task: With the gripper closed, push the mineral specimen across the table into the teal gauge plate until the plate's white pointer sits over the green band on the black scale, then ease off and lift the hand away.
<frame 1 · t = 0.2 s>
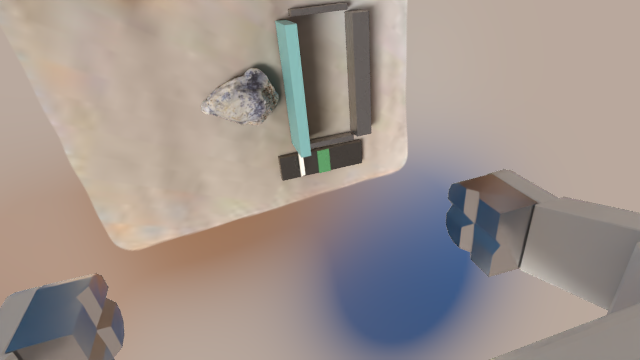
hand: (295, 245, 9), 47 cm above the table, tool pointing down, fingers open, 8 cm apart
gauge plate: (296, 108, 53), point 3 cm above the table, slide at 0.0 cm
gauge frame: (319, 80, 56), on the table
mineral specimen: (238, 92, 54), on the table
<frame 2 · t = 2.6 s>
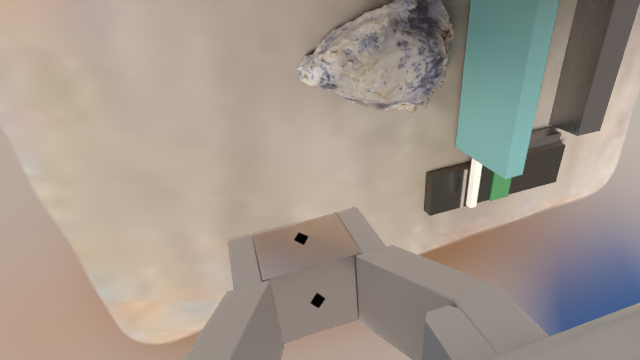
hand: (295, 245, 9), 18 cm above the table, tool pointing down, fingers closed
gauge plate: (498, 78, 26), point 3 cm above the table, slide at 0.0 cm
gauge frame: (526, 26, 29), on the table
mineral specimen: (369, 45, 26), on the table
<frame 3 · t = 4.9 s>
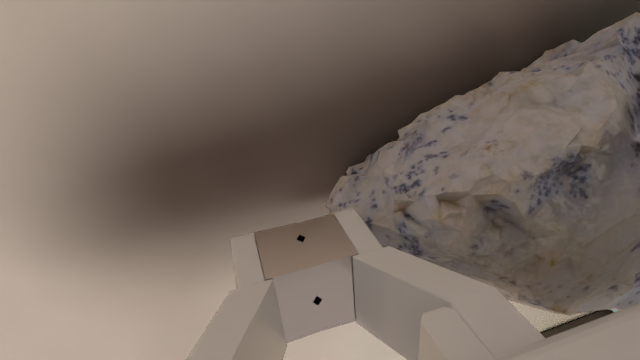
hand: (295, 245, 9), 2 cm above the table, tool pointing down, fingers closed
mineral specimen: (481, 135, 12), on the table, touching gripper
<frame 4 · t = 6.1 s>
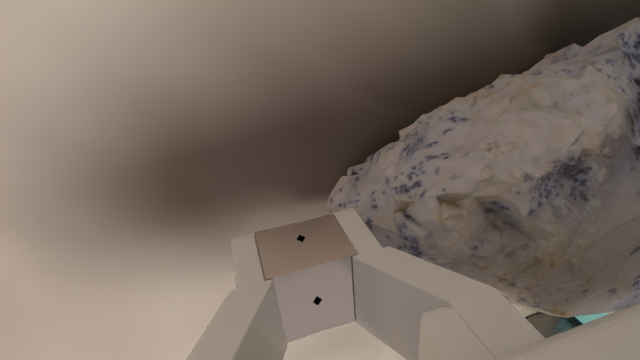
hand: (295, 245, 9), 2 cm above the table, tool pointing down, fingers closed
mineral specimen: (481, 137, 12), on the table, touching gauge plate, gripper
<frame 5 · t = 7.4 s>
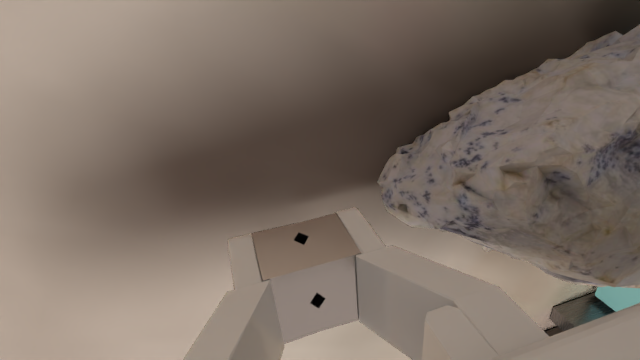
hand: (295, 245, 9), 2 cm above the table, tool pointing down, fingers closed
mineral specimen: (519, 122, 12), on the table
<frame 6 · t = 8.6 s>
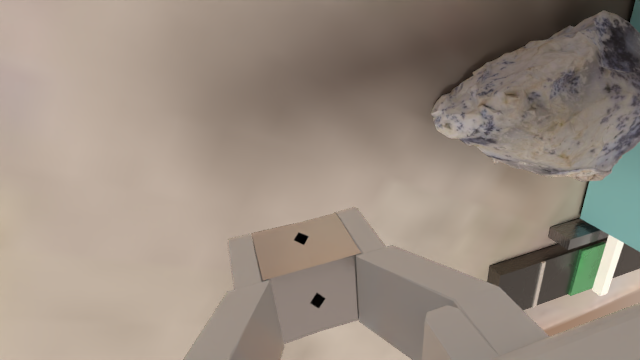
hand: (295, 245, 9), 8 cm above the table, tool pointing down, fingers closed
gauge frame: (630, 75, 21), on the table
mineral specimen: (515, 85, 19), on the table
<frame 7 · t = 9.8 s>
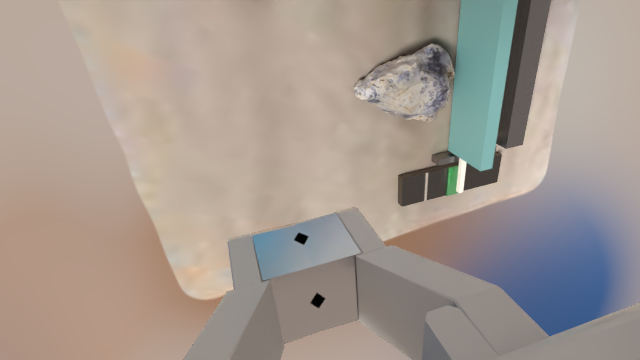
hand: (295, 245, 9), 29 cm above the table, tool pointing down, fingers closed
gauge plate: (475, 104, 40), point 3 cm above the table, slide at 4.0 cm
gauge frame: (464, 73, 42), on the table
mineral specimen: (398, 76, 40), on the table
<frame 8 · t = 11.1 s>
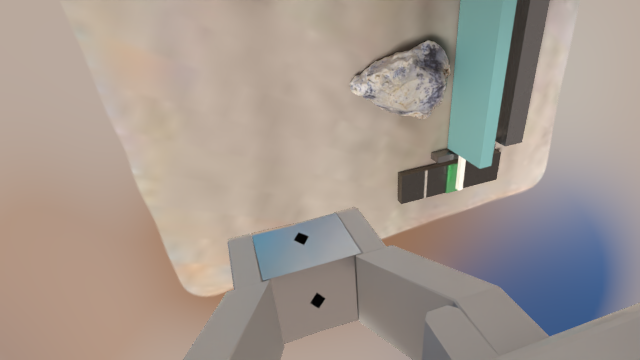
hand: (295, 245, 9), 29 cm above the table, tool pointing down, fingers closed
gauge plate: (474, 102, 40), point 3 cm above the table, slide at 4.0 cm
gauge frame: (464, 71, 42), on the table
mineral specimen: (394, 73, 40), on the table
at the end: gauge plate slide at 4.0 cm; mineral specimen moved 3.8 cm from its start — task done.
